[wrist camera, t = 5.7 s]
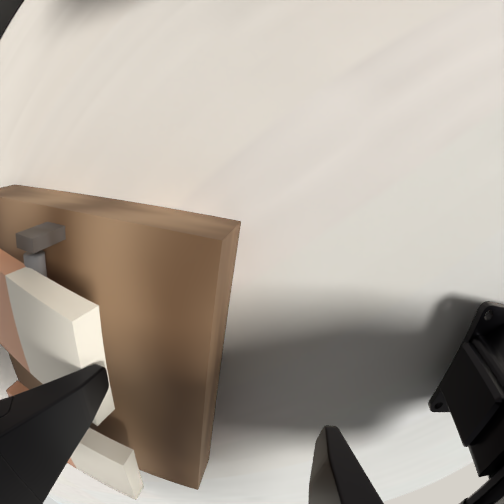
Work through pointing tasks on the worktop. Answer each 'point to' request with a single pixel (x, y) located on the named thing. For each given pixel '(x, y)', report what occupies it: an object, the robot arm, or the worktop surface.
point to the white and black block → (7, 12)
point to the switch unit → (140, 311)
